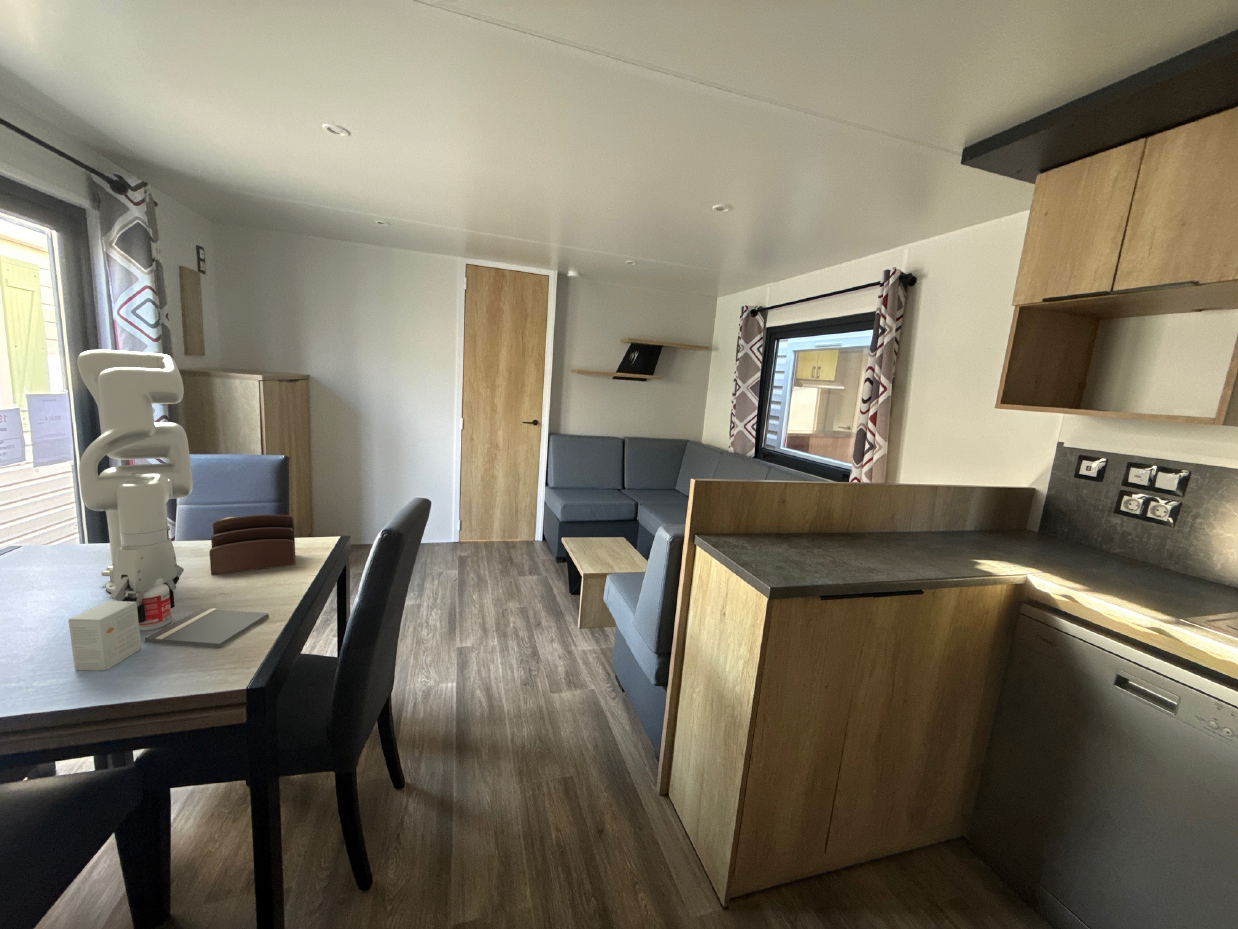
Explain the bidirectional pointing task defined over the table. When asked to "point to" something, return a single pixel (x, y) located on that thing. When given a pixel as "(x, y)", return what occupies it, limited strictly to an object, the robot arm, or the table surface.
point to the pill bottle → (156, 606)
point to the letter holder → (252, 543)
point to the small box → (104, 635)
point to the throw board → (207, 628)
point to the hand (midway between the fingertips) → (152, 613)
